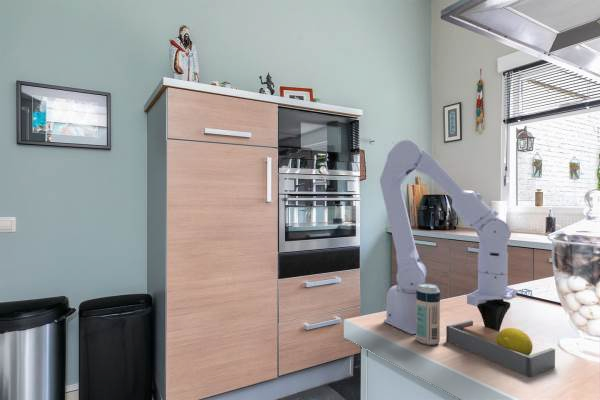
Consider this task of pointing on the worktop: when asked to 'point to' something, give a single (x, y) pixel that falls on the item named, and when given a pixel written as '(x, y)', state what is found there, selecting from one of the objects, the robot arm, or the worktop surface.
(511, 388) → the worktop surface
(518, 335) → the lemon
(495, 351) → the fence
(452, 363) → the worktop surface
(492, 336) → the tile
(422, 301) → the beer can
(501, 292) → the robot arm
